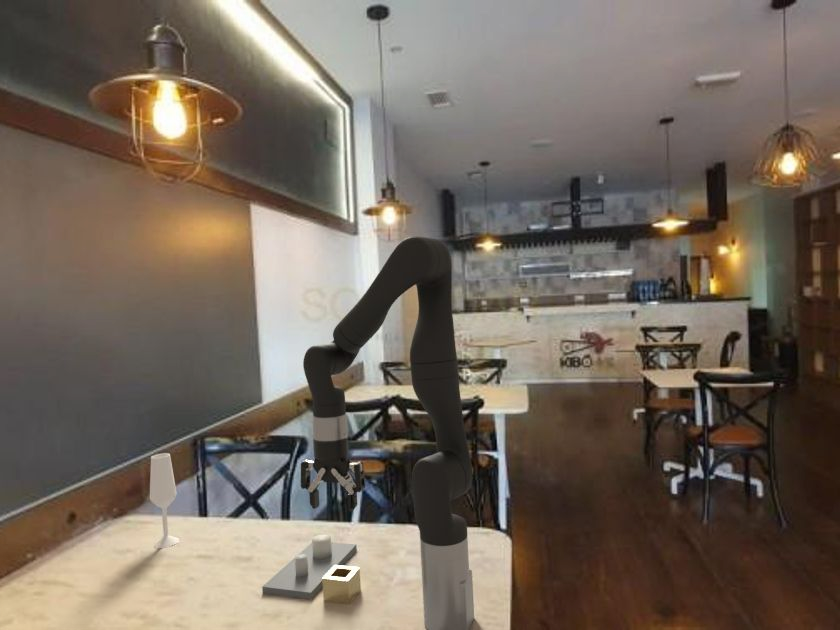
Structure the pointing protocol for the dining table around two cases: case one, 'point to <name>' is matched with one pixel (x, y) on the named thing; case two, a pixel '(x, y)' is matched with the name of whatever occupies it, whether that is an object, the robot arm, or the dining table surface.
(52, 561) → the dining table surface
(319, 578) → the stub plate
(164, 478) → the champagne flute
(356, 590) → the hollow square frame
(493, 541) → the dining table surface
